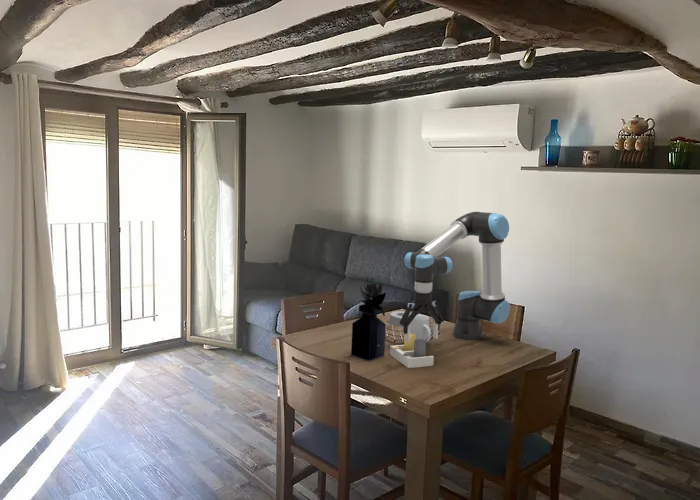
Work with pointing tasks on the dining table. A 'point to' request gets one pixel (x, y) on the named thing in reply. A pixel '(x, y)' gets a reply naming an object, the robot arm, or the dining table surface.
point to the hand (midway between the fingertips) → (421, 339)
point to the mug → (420, 327)
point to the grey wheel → (396, 318)
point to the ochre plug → (409, 343)
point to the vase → (369, 325)
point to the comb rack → (410, 357)
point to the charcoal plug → (419, 348)
